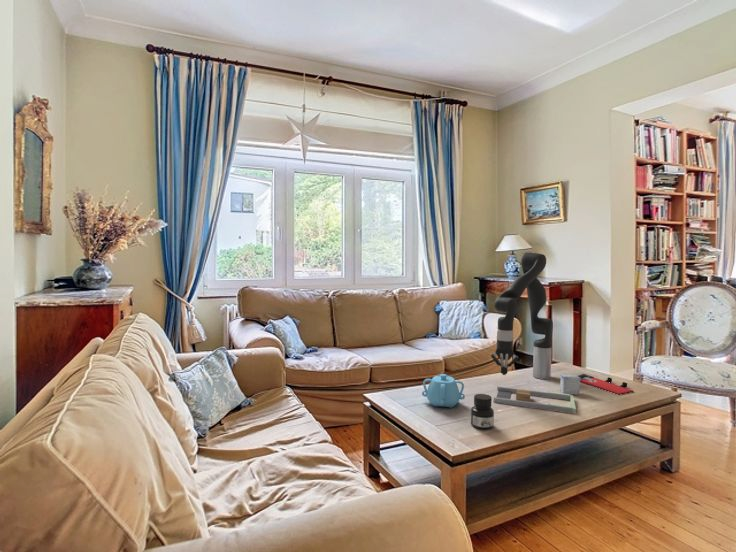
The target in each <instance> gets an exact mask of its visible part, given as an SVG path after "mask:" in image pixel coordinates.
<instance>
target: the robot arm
mask: <svg viewBox="0 0 736 552" xmlns="http://www.w3.org/2000/svg"><path fill="white" fill-rule="evenodd" d="M520 264H521V269H522V270H521V271H522V273H523V274H522V275H520V276H518V277H516V278H515V279H514V280H512V282H511V283H510V285H509V286H508V288H506V290H504V291H503V292H502V293H501V294H499V295H498V296H497V298H496V299H495V301H494V305H493V306H494V308H495V310H496V311H497V312H499V313H500V312H501V313H506V314H505V316H500V317H498V319H497V331H496V349H495V352H494V353H491V354H490V357H491V358H492V359H493V361H494V363H495V364H496V365H497V366H499V367H500V373H501V374H502V376H506V375H507V374H508V368H509V367H512V366H513V365H514V364H515V363H516V362H517V360H518V359H519V355H516V354H515V352H514V320H515V316H516V314H517V311H518V305H519V304H518V301H517V300H519V299H520V298H521V297H522V295H523V294H524V292H525V290H526V293H527V294H526V295H527V302H528V305H529V313H530V327H531V331H532V333H533V334H536V335H543V336H544V337H543V338H540V339H536V340H534V341H533V355H532V356H533V357H532V359H533V361H532V377H533V378H536V379H538V380H539V379H541V380H550V379H551V375H552V344H553V343H552V342H553V331H554V329H553V328H554V322H553V319H551V318H547V317H546V318H545V317H539V316H538V315H539V313H540V311H541V310H542V308H543V307H544V306H545V305H546V303H547V293H546V292H547V291H546V288H545V287H544V284H543V283H542V282H541V281H540V280H539V279H538V276H539V275H540V274H541V273H542V272H543V270H544V269H545V268H546V266H547V258H546V255H545V254H543V253H538V252H529V251H528V252H523V254H522V256H521V259H520ZM497 357H498V358H497ZM499 359H500V361H499ZM511 359H512V360H511ZM510 360H511V361H510ZM509 361H510V362H509Z"/></svg>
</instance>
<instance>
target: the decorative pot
mask: <svg viewBox="0 0 736 552" xmlns="http://www.w3.org/2000/svg"><path fill="white" fill-rule="evenodd" d="M426 382H429V384H428V387H427V385H426ZM458 384H460V385H461V387H460V388H461V389H459V386H458ZM422 386H423V389H424V390H422V392H421V394H422V396H423V397H426V398H427V401H428V402H429V403H430V404H431V405H432V406H433V407H444V408H445V407H446V408H453V407H455V406H456V405H457V404H458V403H459V401H460V400H465V398H466V397H465V396H466V395H465V394H464V393H463V392H464V389H465V384H464V383H463V381H461V380H457V379H455V378H454V377H453V376H449V375H448V374H445V373H441V374H439V375H435V376H433V377H432V378H425V379H424V380H423V382H422Z"/></svg>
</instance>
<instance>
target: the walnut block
mask: <svg viewBox="0 0 736 552" xmlns="http://www.w3.org/2000/svg"><path fill="white" fill-rule="evenodd" d="M516 389H517V392H516V393H515V400H518V401H526V402H531V395H530V391H529V390H530V389H524V390H521V389H522V388H516Z"/></svg>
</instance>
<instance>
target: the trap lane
mask: <svg viewBox="0 0 736 552" xmlns="http://www.w3.org/2000/svg"><path fill="white" fill-rule="evenodd" d="M517 389H518V388H515V387H507V386H499V385H497V389H496V391H497V390H498V391H497V394H496V396H495V397H493V403H497V404H504V405H511V406H517V407H527V408H532V409H540V410H546V409H547V410H546V411H553V410H554V411H556V412H560V411H561V413H569V414H575V415H576V413H577V412H576V411H577V408H576V403H575V399H574V395H573V394H563V393H562V392H555V391H554V392H553V391H540V390H539V391H538V390H532V389H528V390H529V391H530V396H534V395H535V397H541V396H543V398H549V399H558V400H567V401H570V406H569V405H563V404H555V403H554V404H553V403H540V402H539V403H538V402H533V401H530V402H526V401H518V400H516V399H511V395H512V394H516V392H517ZM520 389H521V390H525V389H523V388H520ZM511 392H512V393H511Z"/></svg>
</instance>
